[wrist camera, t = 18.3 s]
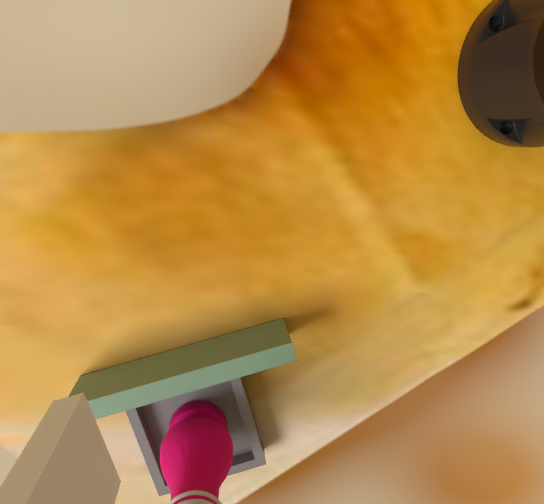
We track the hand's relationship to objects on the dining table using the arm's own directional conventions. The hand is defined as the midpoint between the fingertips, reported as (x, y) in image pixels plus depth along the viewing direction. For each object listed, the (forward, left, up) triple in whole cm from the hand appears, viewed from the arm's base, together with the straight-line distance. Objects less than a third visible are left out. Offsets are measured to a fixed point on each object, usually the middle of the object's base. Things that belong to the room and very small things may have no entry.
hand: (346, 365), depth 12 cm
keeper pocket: (+12, +22, -35) cm, 43 cm away
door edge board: (+11, +14, -35) cm, 39 cm away
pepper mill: (+12, +22, -34) cm, 42 cm away
